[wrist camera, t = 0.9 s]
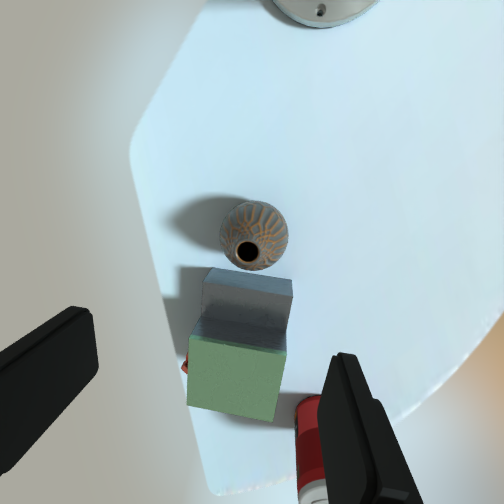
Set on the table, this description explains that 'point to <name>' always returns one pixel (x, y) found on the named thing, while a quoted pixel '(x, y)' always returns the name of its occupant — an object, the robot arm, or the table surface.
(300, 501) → the canned food
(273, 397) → the stand
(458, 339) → the table surface
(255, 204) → the vase
